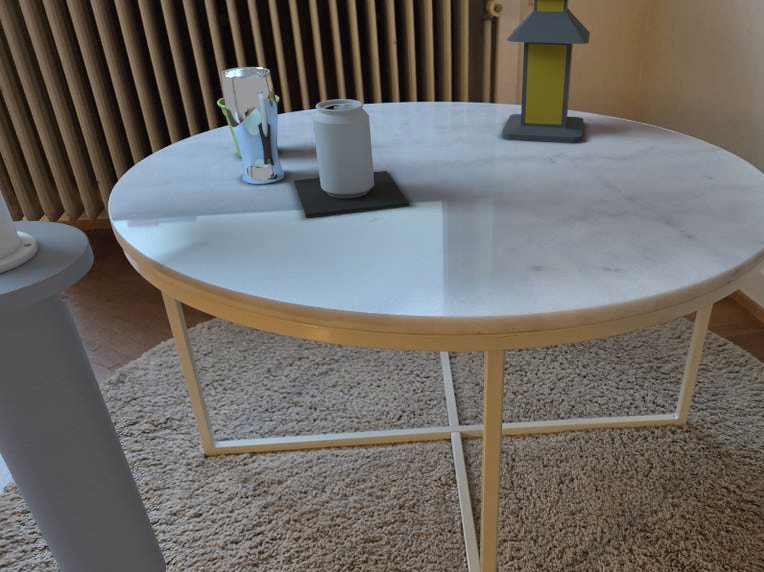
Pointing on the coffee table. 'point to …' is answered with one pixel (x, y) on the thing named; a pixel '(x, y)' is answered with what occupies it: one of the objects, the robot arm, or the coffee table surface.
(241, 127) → the beer glass
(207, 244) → the coffee table surface
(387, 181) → the mat
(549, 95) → the lantern
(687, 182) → the coffee table surface
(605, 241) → the coffee table surface
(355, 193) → the can
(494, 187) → the coffee table surface
